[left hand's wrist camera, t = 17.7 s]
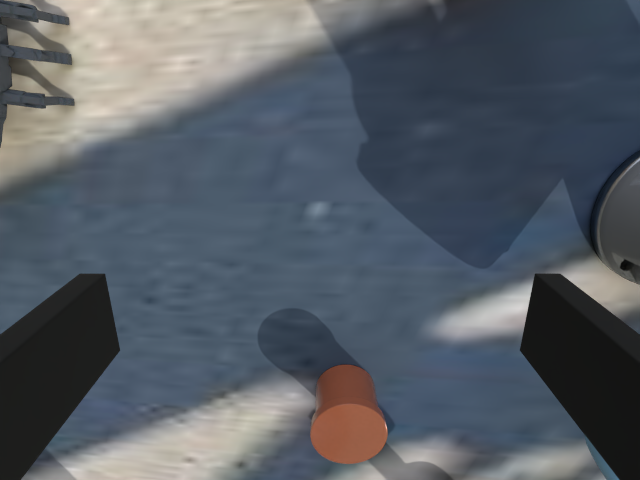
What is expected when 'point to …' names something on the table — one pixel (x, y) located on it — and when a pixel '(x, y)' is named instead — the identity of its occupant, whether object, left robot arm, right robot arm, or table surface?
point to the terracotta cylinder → (347, 416)
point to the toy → (3, 80)
